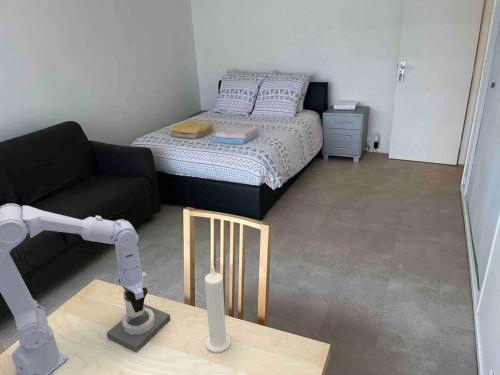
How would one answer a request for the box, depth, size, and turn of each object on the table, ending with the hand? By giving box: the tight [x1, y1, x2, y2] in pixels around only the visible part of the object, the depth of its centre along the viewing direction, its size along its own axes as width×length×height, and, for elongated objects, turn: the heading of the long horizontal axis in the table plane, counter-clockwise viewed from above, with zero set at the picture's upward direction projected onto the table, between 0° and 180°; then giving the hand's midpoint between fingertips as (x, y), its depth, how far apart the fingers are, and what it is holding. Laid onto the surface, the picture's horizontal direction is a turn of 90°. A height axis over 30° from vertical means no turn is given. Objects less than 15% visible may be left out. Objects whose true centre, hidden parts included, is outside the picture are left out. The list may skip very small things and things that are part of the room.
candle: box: [204, 266, 232, 354], centre depth 100 cm, size 7×7×25 cm
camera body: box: [106, 303, 171, 353], centre depth 109 cm, size 14×11×4 cm
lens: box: [123, 289, 144, 317], centre depth 106 cm, size 5×5×7 cm
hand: (136, 305), depth 107 cm, fingers closed on lens, 5 cm apart
